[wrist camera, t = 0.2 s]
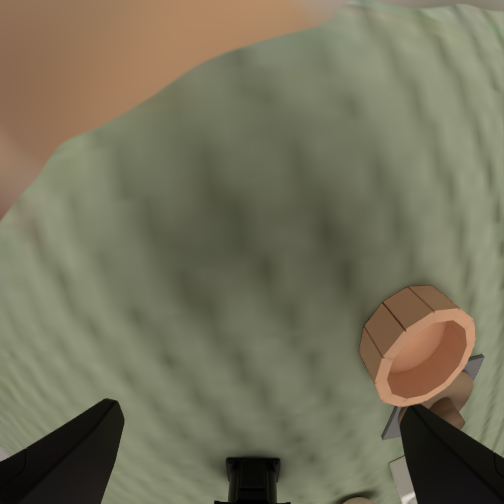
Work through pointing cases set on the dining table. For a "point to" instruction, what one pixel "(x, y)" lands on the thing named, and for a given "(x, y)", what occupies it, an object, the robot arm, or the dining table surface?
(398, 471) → the white boxy piece
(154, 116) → the dining table surface
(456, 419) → the lid
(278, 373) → the dining table surface
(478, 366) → the mat
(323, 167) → the dining table surface
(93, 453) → the robot arm
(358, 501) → the egg
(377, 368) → the bowl
